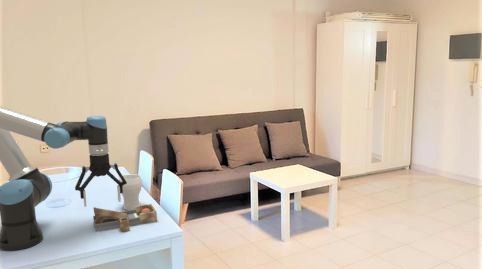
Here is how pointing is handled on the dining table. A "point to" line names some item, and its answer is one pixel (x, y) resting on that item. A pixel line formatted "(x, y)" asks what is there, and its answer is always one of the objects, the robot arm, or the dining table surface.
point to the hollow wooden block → (124, 224)
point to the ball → (145, 210)
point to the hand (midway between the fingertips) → (102, 203)
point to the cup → (131, 191)
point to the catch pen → (146, 214)
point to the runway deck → (117, 221)
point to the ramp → (108, 215)
